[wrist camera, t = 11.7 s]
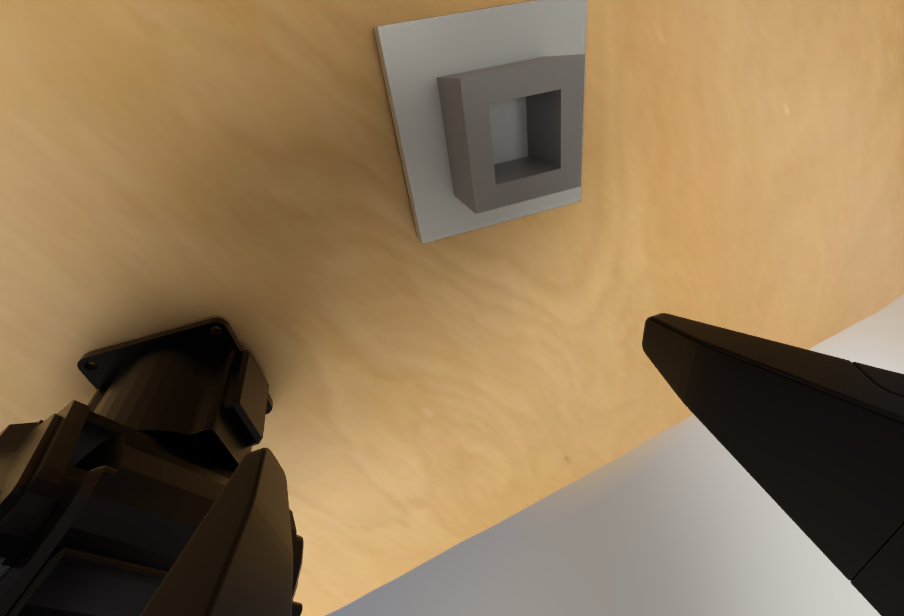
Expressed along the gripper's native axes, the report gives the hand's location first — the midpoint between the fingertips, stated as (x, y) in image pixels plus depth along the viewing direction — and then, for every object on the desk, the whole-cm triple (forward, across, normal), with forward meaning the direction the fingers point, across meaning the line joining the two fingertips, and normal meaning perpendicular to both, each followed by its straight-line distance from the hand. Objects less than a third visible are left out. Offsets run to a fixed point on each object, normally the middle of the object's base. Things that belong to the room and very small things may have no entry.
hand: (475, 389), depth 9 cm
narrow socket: (+13, -6, -3) cm, 15 cm away
